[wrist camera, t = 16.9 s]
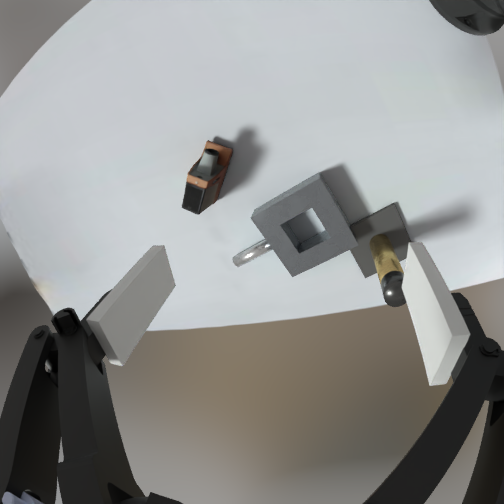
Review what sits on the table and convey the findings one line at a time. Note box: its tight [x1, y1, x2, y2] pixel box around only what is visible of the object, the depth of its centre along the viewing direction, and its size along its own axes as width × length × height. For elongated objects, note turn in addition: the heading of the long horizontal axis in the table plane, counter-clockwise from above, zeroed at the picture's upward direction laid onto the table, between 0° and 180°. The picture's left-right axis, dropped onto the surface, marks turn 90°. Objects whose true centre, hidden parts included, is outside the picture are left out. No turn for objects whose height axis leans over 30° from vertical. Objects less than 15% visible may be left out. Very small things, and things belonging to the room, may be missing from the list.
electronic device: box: [182, 140, 233, 214], centre depth 43 cm, size 4×10×8 cm, turn 161°
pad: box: [350, 203, 411, 278], centre depth 46 cm, size 10×10×1 cm
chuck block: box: [233, 173, 358, 277], centre depth 47 cm, size 20×12×4 cm, turn 126°
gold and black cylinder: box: [369, 234, 406, 307], centre depth 40 cm, size 4×4×14 cm
